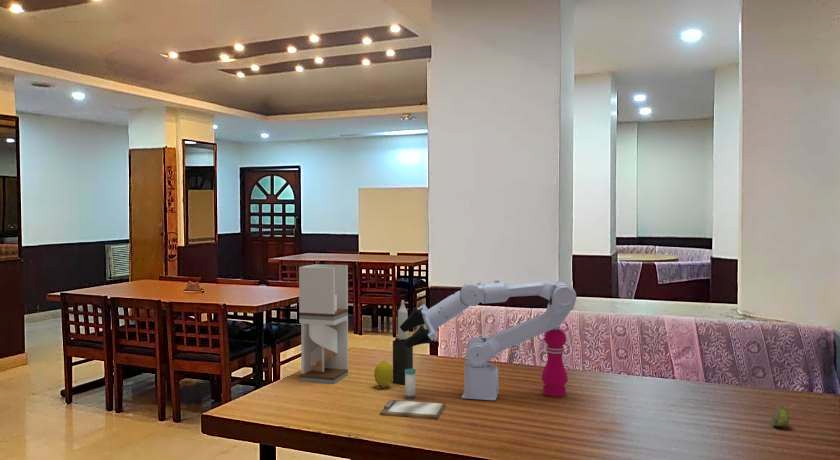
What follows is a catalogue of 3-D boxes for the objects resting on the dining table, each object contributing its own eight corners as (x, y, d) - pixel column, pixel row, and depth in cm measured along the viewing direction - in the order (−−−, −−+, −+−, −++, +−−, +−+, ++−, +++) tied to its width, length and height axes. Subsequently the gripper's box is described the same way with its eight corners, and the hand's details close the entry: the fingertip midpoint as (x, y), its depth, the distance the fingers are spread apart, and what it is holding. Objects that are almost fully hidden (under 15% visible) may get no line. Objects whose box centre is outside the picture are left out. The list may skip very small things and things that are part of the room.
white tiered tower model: (299, 381, 189) (299, 267, 188) (315, 372, 199) (314, 264, 198) (333, 384, 186) (333, 268, 185) (348, 375, 196) (347, 265, 195)
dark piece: (391, 383, 187) (391, 300, 186) (399, 379, 191) (399, 298, 191) (406, 385, 185) (406, 301, 184) (414, 381, 189) (414, 299, 188)
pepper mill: (565, 389, 179) (566, 321, 177) (568, 398, 172) (570, 327, 170) (540, 388, 180) (541, 320, 178) (542, 397, 173) (543, 326, 171)
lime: (780, 431, 146) (780, 410, 145) (763, 424, 150) (763, 403, 150) (795, 429, 147) (795, 408, 147) (778, 422, 152) (778, 402, 151)
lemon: (392, 390, 179) (392, 362, 179) (373, 390, 179) (373, 362, 179) (393, 385, 185) (393, 358, 185) (375, 385, 185) (375, 358, 185)
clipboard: (445, 405, 165) (445, 400, 165) (437, 419, 154) (437, 413, 154) (391, 402, 168) (391, 397, 168) (380, 414, 157) (379, 409, 157)
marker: (416, 396, 173) (416, 368, 173) (414, 399, 170) (414, 371, 170) (406, 395, 174) (406, 368, 174) (403, 399, 171) (403, 370, 171)
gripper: (431, 288, 179) (392, 313, 180) (442, 316, 166) (399, 343, 167) (443, 305, 182) (405, 329, 183) (455, 333, 169) (413, 359, 170)
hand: (403, 337), depth 175 cm, fingers open, 7 cm apart
